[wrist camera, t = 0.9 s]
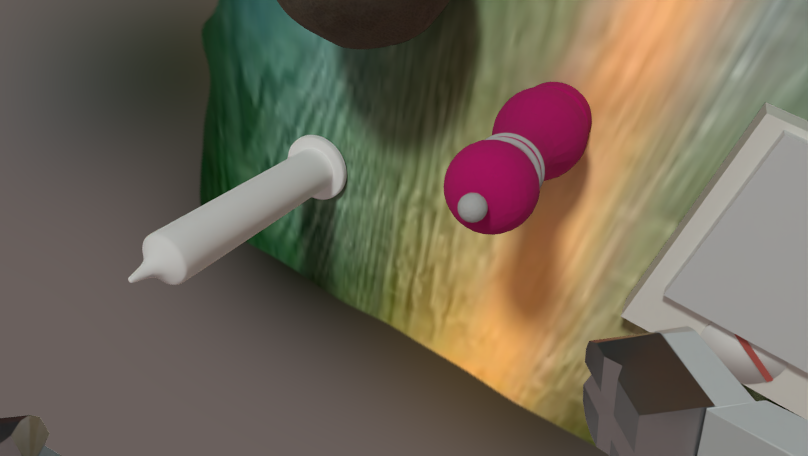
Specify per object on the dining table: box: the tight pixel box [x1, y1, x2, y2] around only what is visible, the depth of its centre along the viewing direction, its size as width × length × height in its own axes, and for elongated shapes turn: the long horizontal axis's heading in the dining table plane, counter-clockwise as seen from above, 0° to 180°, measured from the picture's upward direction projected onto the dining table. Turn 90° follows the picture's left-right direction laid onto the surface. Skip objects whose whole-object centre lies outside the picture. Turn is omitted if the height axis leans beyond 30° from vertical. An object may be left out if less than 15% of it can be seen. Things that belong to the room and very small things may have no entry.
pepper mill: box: [444, 82, 592, 235], centre depth 43 cm, size 7×7×20 cm
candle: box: [128, 135, 347, 285], centre depth 55 cm, size 7×7×25 cm
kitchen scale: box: [621, 102, 808, 420], centre depth 46 cm, size 20×18×4 cm
